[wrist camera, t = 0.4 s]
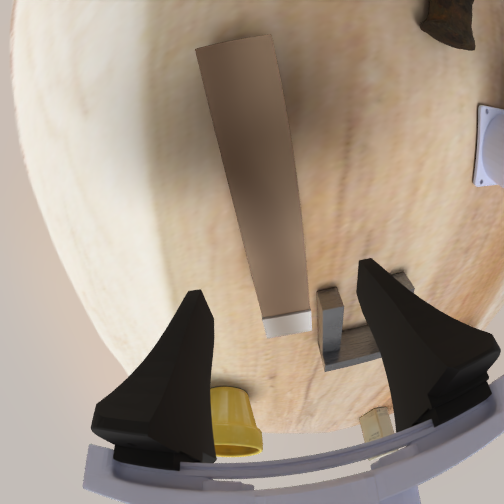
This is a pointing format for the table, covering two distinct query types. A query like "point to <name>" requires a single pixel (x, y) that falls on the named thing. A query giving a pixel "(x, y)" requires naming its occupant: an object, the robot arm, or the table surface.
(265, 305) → the walnut rail
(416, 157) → the table surface
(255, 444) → the plant pot
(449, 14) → the hand tool
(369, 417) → the skincare box
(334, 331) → the u-shaped metal bracket
